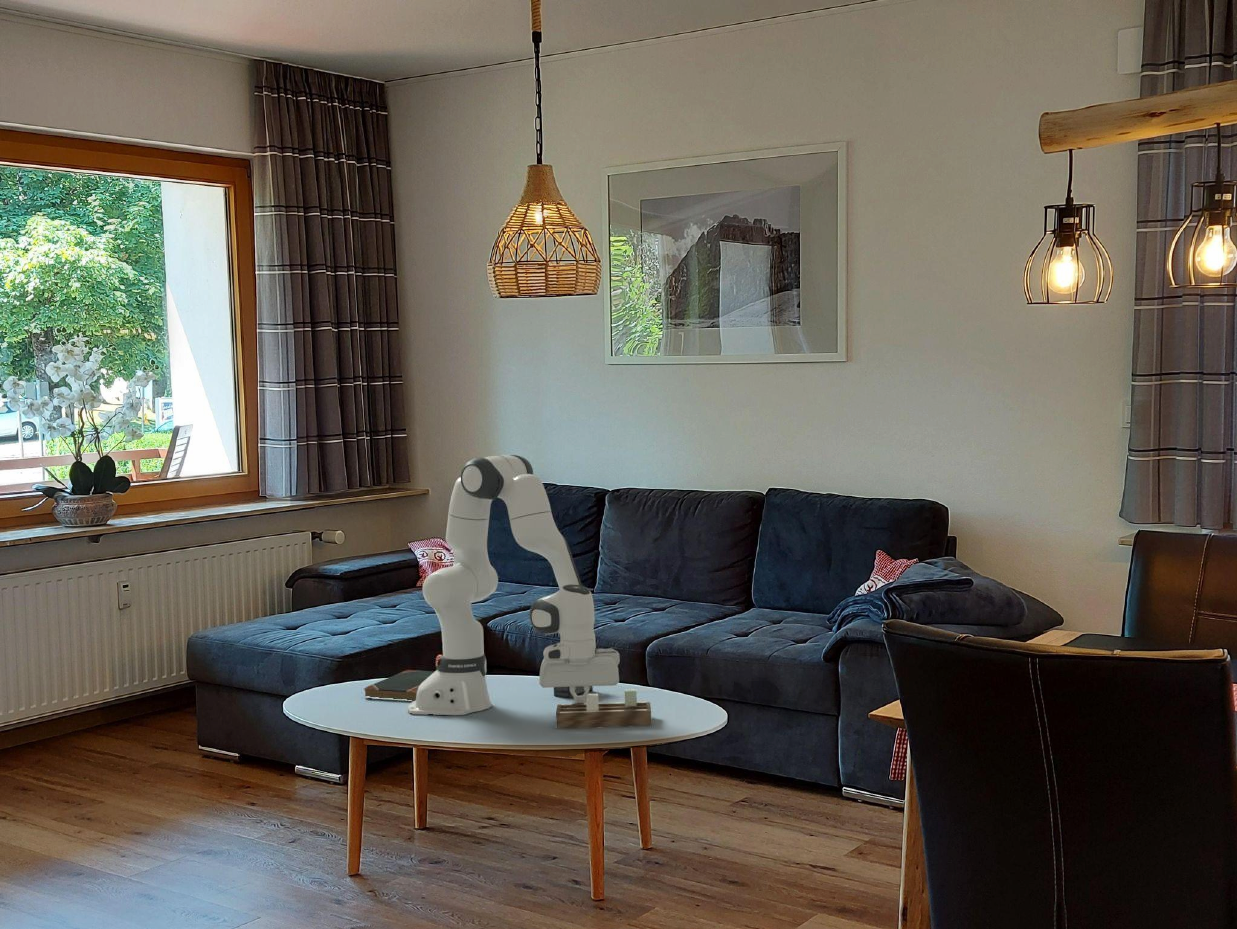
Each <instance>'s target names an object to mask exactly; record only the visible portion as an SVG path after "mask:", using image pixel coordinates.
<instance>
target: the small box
mask: <svg viewBox="0 0 1237 929" xmlns="http://www.w3.org/2000/svg"><path fill="white" fill-rule="evenodd" d="M589 687H590V689H589V692H588V694H590V693H591V692H593V691H594V689H593V687H594V686H589ZM585 691H586V690H584V686H578V687H575V693H576V695H577V696H583V694H584V692H585ZM554 696H555V697H556V698H561V699H562V698H563V699H568V700H569V699H570V700H572V699H574V697H573V695H572V694H571V692H570V687H553V697H554Z"/></svg>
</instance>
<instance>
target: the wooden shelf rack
mask: <svg viewBox="0 0 1237 929" xmlns="http://www.w3.org/2000/svg"><path fill="white" fill-rule="evenodd" d="M556 706H557V707H556V712H555V721H556V722H555V725H556V726H555V727H556V728H555V729H556V730H561V729H563V730H565V729H570V730H571V729H597V727H604V728H629V726H638V727H651V726H652V706H651V701H637V706H625V701H623V702H619V701H618V702H598V707H599V711H587V708H586V704H574V702H573V703H561V704H557V705H556ZM650 725H651V726H650Z"/></svg>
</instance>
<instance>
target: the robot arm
mask: <svg viewBox="0 0 1237 929" xmlns="http://www.w3.org/2000/svg"><path fill="white" fill-rule="evenodd" d="M497 498H498V499H501V500H502V501H503V502H504V503H505V505H506V508H507V514H508V518H509V523H510V529H511V533H512V535H513V537H514V539H515V542H516V543H517V544H518V545H519V546H520V547H522V548H523V549H525V550H526V551H530V552H532V553H535V554H538V555H540V556H542V557H543V558H545V559H546V560H547V562H549V563H550V565H551V568H552V570H553V573H554V577H555V579H556V582H557V584H558V587H559V588H558V590H557V591H556V592H555V593H551V594H550V595H547V596H543V597H541V598H539V599H535V601H533V603H532V604H531V606H530V609H529V616H528V617H529V622H530V624H531V627H532V628H533V630H534V631H536V632H537V633H539V634H540V635H552V634H559V635H560V642H557V643H555V644H550V645H548V646H546V647H545V648H544V649H543V659H542V662H541V665H540V670H539V678H538V679H539V681H538V682H539V685H540V687H541V688H554V687H570V692H571V694H572V695H573V697H574V698H573V703H574V704H586V696H587V694H589V693H590V692H589V689H590V687H589V686H593V687H602V686H603V687H605V686H617V685H618V684H619V682H620V676H619V667H618V666H619V665H620V661H621V660H620V653H619V652H618V651H617V650H615V649H614V648H613V647H612V648H611V647H610V648H609V647H608V648H596V634H595V630H594V624H595V604H594V598H593V594H592V592H591V590H590V589H589V588H588V587H587V586H584V585H583V584H582V582H581V578H580V576H579V575H580V574H579V572H578V569H577V566H576V564H575V560H574V558H573V555H572V552H571V549H570V546H569V543H568V541H567V540H566V538H565V537H564V535H563V534H561V532H560V531H559V529H558V527H557V525H556V522H555V520H554V518H553V516H554V515H553V513H552V509H551V504H550V500H549V497H548V494H547V492H546V489H545V486H544V484H543V482H542V480H541V478H540V477H538V476H537V475H535V474H534V469H533V466H532V465H531V462H530V461H529V460H528V459H526V458H525V457H524V456H520V455H516V454H496V455H495V454H494V455H489V456H484V457H476V458H473V459H471V460H469V461H468V462H466V463H465V464H464V465H463V467H462V469H461V471H460V476H459V477H458V478H457V479H456V481H455V483H454V486H453V489H452V493H451V496H450V502H449V506H448V514H447V524H446V532H445V542H446V545H447V546H448V547H449V548H450V549H451V551H452V554H453V565H452V566H451V565H450V566H446V567H441V568H439V569H437V570H436V571H433V572H432V573H430V574H428V576H426V578H424V580H423V583H422V588H421V589H422V595H423V597H424V600H425V602H426V603H427V604H428V605H429V606H430V607H431V608H432V609H433V610H434V612H435V614H436V616H437V619H438V621H439V624H440V630H441V641H442V642H441V643H442V654H438V655H437V656H436V658H435V669H436V670H435V671H434V673H433V674H432V675H430V676H429V677H428V678H427V679H426V680H425V681H423V682H422V683H421V684H420V686H419V687H418V690H417V694H416V700H415V701H413V702H409V704H408V706H407V712H408V711H409V712H408V713H409V714H410V713H412V714H411V715H428V714H433V716H434V715H435V716H436V715H438V716H439V715H441V716H442V715H443V716H444V715H445V716H465V715H468V714H471V713H475V712H476V713H477V712H481V711H483V710H487V709H489V708H491V707H492V705H493V704H492V702H491V698H490V693H489V690H488V686H487V678H486V674H487V659H486V658H487V657H486V654H485V652H484V649H485V647H484V628H483V625H482V624H481V622H480V621H478V620H476V618H475V617H474V616H475V615H474V613H473V610H472V604H473V603H477V602H481V601H483V600H485V599H486V598H488V597H490V595H492V594H494V593H495V591H496V590H497V587H498V584H499V577H498V573H497V571H496V569H495V568H494V567H493V566H492V565H491V562H490V558H489V554H488V535H489V534H488V532H489V524H490V523H489V522H490V513H491V504H492V502H493V500H494V501H495V500H496V499H497ZM578 686H584V690H586V691H585V692H584V694H583V695H580V696H577V695H576V693H575V687H578ZM588 692H589V693H588Z"/></svg>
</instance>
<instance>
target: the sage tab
mask: <svg viewBox="0 0 1237 929" xmlns="http://www.w3.org/2000/svg"><path fill="white" fill-rule="evenodd" d="M637 698H638V697H637V688H625V689H624V702H625V706H637V702H638V699H637Z"/></svg>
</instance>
